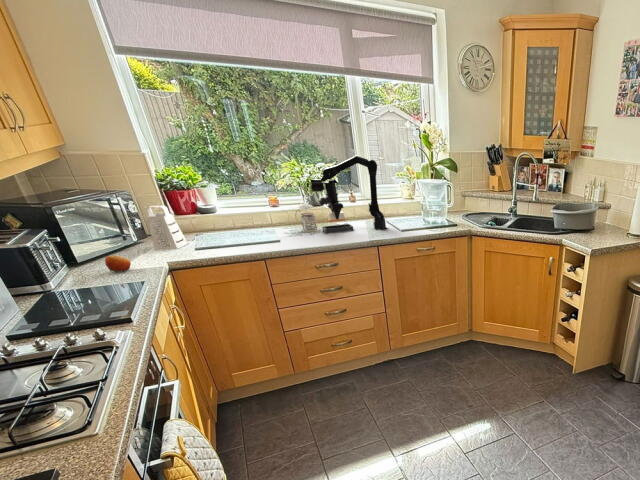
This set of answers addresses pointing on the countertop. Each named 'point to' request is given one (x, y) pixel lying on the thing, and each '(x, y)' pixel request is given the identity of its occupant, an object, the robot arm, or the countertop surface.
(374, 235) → the countertop surface
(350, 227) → the shoe tray
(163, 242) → the grater
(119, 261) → the fruit
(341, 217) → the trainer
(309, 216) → the french press
